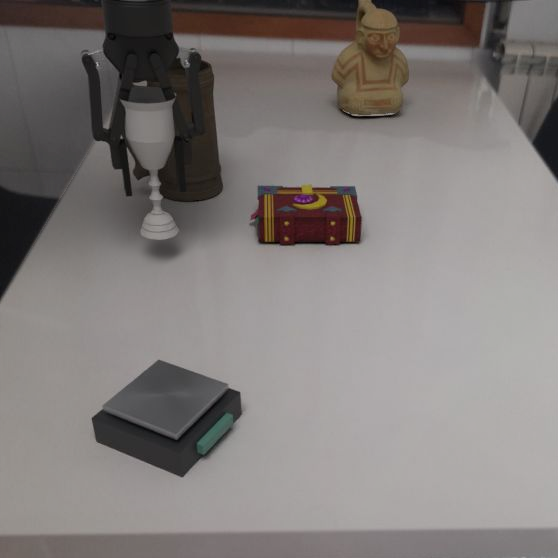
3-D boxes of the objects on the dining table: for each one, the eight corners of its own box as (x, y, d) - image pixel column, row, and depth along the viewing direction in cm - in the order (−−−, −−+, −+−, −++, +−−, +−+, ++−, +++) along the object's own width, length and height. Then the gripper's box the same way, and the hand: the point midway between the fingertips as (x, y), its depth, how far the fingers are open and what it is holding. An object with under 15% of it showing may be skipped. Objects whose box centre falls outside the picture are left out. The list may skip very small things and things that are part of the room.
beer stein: (203, 170, 125) (187, 50, 113) (239, 189, 119) (226, 65, 106) (123, 197, 117) (96, 70, 105) (158, 219, 111) (133, 88, 98)
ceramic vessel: (340, 125, 148) (346, -8, 134) (321, 97, 164) (324, -25, 149) (418, 123, 152) (432, -7, 138) (392, 96, 167) (402, -24, 153)
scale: (96, 441, 69) (91, 418, 67) (161, 385, 76) (158, 362, 74) (188, 480, 65) (185, 456, 63) (247, 417, 73) (246, 393, 71)
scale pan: (102, 411, 67) (101, 405, 67) (159, 364, 73) (158, 359, 73) (176, 440, 64) (176, 434, 64) (229, 389, 71) (228, 383, 70)
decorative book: (361, 245, 105) (363, 214, 102) (250, 245, 103) (248, 213, 100) (353, 212, 114) (355, 182, 111) (250, 212, 112) (249, 181, 109)
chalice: (121, 235, 95) (102, 96, 85) (150, 215, 100) (136, 83, 90) (168, 247, 93) (155, 107, 83) (196, 227, 98) (187, 92, 88)
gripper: (44, 0, 74) (79, 208, 87) (227, 1, 80) (234, 195, 93) (43, -13, 80) (76, 184, 93) (214, -12, 86) (222, 173, 99)
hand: (155, 189), depth 93 cm, fingers closed on chalice, 6 cm apart
